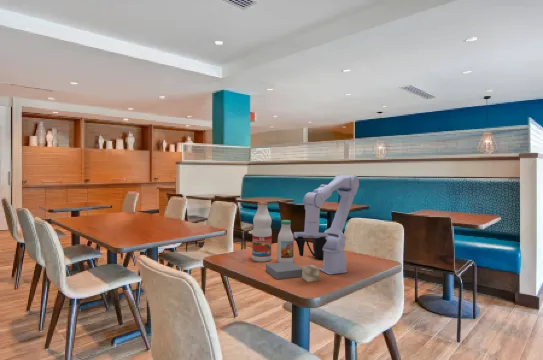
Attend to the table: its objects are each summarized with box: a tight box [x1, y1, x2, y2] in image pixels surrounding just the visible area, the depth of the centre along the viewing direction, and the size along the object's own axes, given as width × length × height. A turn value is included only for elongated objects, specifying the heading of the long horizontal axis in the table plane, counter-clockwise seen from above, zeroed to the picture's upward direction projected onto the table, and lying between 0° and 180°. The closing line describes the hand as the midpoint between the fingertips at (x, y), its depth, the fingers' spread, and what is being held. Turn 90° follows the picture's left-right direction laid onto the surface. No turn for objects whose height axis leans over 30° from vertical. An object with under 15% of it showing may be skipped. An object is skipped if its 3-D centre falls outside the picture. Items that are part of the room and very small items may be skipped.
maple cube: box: [301, 264, 320, 283], centre depth 132 cm, size 5×5×5 cm
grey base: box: [265, 262, 302, 280], centre depth 139 cm, size 12×12×3 cm
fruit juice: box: [251, 201, 273, 263], centre depth 160 cm, size 9×9×28 cm
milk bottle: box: [276, 219, 295, 263], centre depth 156 cm, size 8×8×20 cm
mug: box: [305, 238, 324, 261], centre depth 166 cm, size 8×12×10 cm
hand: (309, 255), depth 132 cm, fingers open, 7 cm apart
